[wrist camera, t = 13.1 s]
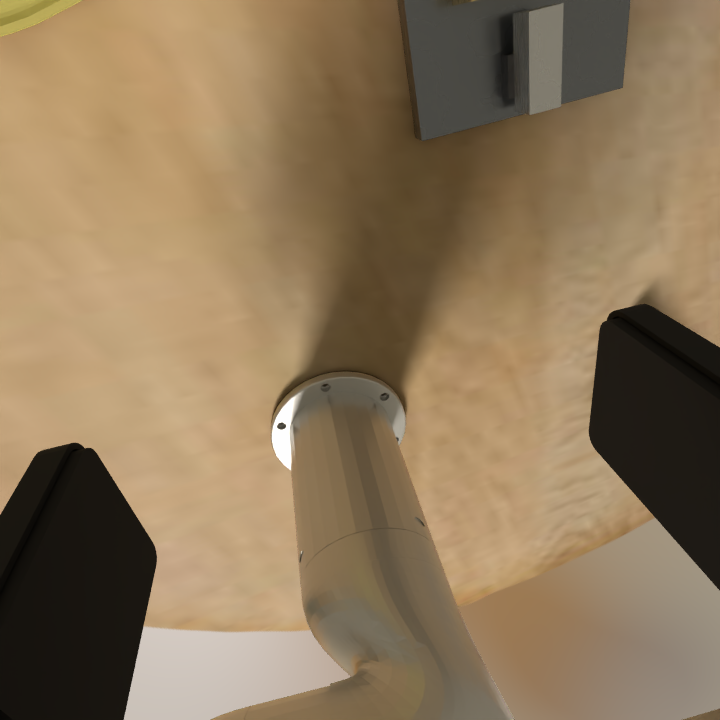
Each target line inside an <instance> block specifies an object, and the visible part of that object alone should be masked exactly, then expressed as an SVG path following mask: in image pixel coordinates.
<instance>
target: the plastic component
mask: <svg viewBox="0 0 720 720" xmlns="http://www.w3.org/2000/svg"><path fill="white" fill-rule="evenodd" d="M80 1H82V0H0V37H1V36H5V35H8V34H11V33H15V32H17V31H20V30H23V29H25V28H28V27H31V26H34V25H36V24H38V23H40V22H42V21H44V20H46V19H48V18H50V17H52V16H54V15H56V14H58V13H59V12H61V11H63V10H65V9H67V8H69V7H71V6H73V5H75V4H77V3H79V2H80Z"/></svg>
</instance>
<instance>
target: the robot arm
mask: <svg viewBox="0 0 720 720" xmlns="http://www.w3.org/2000/svg"><path fill="white" fill-rule="evenodd" d="M405 428H406V416H405V412H404V409H403V406H402V403H401V401H400V399H399V397H398V395H397V394H396V393H395V392H394V391H393V389H392V388H391V387H390V386H388V385H387V384H386V383H384V382H383V381H382V380H379V379H377V378H375V377H373V376H371V375H367V374H363V373H359V372H348V371H344V372H332V373H328V374H324V375H319V376H317V377H314V378H312V379H309V380H307V381H305V382H303V383H302V384H300V385H299V386H297V387H295V388H294V389H293V390H292V391H291V392H290V393H288V394H287V395H286V396H285V397H284V399H283V400H282V401H281V403H280V404H279V405H278V407H277V409H276V411H275V413H274V415H273V419H272V423H271V441H272V447H273V449H274V451H275V454H276V456H277V457H278V459H279V460H280V461H281V463H282V464H283V465H284V466H286V467H287V468H288V469H289V470H290V471H291V476H292V488H293V500H294V512H295V524H296V536H297V548H298V560H299V572H300V584H301V594H302V604H303V610H304V613H305V616H306V620H307V623H308V625H309V627H310V629H311V631H312V633H313V635H314V637H315V638H316V640H317V641H318V643H319V644H320V645H321V647H322V648H323V649H324V650H325V651H326V652H327V654H328V655H329V656H330V657H331V658H332V659H333V660H334V661H335V662H336V663H337V664H338V665H339V666H340V667H341V668H343V670H345V671H346V672H347V673H348V674H349V675H350V676H351V677H350V678H348V679H345V680H342V681H338V682H335V683H331V684H330V686H327V687H323V688H319V689H315V690H311V691H307V692H304V693H300V694H296V695H292V696H288V697H284V698H281V699H276V700H273V701H269V702H265V703H261V704H257V705H253V706H249V707H245V708H242V709H238V710H235V711H232V712H229V713H226V714H223V715H220V716H218V717H216V718H213V719H211V720H515V719H514V718H513V716H512V714H511V712H510V710H509V708H508V706H507V705H506V703H505V701H504V699H503V697H502V695H501V694H500V692H499V690H498V688H497V686H496V684H495V683H494V681H493V679H492V677H491V675H490V673H489V671H488V669H487V667H486V666H485V664H484V662H483V660H482V658H481V656H480V654H479V652H478V651H477V648H476V646H475V644H474V642H473V640H472V638H471V636H470V634H469V632H468V629H467V627H466V625H465V622H464V620H463V618H462V615H461V613H460V611H459V609H458V606H457V603H456V601H455V598H454V596H453V593H452V590H451V588H450V585H449V583H448V580H447V577H446V575H445V572H444V569H443V566H442V564H441V561H440V558H439V555H438V553H437V550H436V547H435V545H434V542H433V539H432V536H431V533H430V531H429V528H428V525H427V522H426V520H425V517H424V514H423V511H422V508H421V506H420V503H419V500H418V497H417V494H416V492H415V489H414V486H413V483H412V481H411V478H410V475H409V472H408V469H407V467H406V464H405V461H404V458H403V455H402V453H401V450H400V447H399V445H400V444H401V441H402V439H403V436H404V434H405ZM589 437H590V440H591V443H592V445H593V447H594V448H595V450H596V451H597V452H598V453H599V454H600V455H601V457H602V458H603V459H604V460H605V461H606V462H607V463H608V464H609V466H610V467H611V468H612V469H613V470H614V471H615V472H616V474H617V475H618V476H619V477H620V478H621V479H622V480H623V481H624V483H625V484H626V485H627V486H628V487H629V488H630V489H631V490H632V492H633V493H634V494H635V495H636V496H637V497H638V498H639V500H640V501H641V502H642V503H643V504H644V505H645V506H646V507H647V509H648V510H649V511H650V512H651V513H652V514H653V515H654V517H655V518H656V519H657V520H658V521H659V522H660V523H661V524H662V526H663V527H664V528H665V529H666V530H667V531H668V532H669V533H670V535H671V536H672V537H673V538H674V539H675V540H676V541H677V543H678V544H679V545H680V546H681V547H682V548H683V549H684V550H685V552H686V553H687V554H688V555H689V556H690V557H691V558H692V560H693V561H694V562H695V563H696V564H697V565H698V566H699V568H700V569H701V570H702V571H703V572H704V573H705V574H706V575H707V577H708V578H709V579H710V580H711V581H712V582H713V583H714V585H715V586H716V587H717V588H718V589H719V590H720V347H718V346H716V345H715V344H713V343H711V342H710V341H708V340H706V339H705V338H703V337H701V336H700V335H698V334H696V333H695V332H693V331H691V330H690V329H688V328H686V327H685V326H683V325H681V324H680V323H678V322H677V321H675V320H673V319H672V318H670V317H668V316H667V315H665V314H663V313H662V312H660V311H658V310H657V309H655V308H653V307H652V306H650V305H647V304H640V305H636V306H632V307H628V308H624V309H620V310H616V311H613V312H611V313H610V314H609V316H608V318H607V321H605V322H603V323H602V325H601V327H600V332H599V341H598V351H597V360H596V369H595V378H594V388H593V397H592V406H591V415H590V425H589ZM156 563H157V555H156V549H155V546H154V544H153V542H152V541H151V539H150V537H149V536H148V534H147V533H146V531H145V529H144V528H143V526H142V525H141V523H140V521H139V520H138V518H137V517H136V515H135V514H134V512H133V510H132V509H131V507H130V506H129V504H128V502H127V501H126V499H125V498H124V496H123V494H122V493H121V491H120V490H119V488H118V486H117V485H116V483H115V482H114V480H113V479H112V477H111V475H110V474H109V472H108V471H107V469H106V467H105V466H104V464H103V463H102V461H101V459H100V458H99V456H98V455H97V453H96V452H95V451H94V450H93V449H91V448H84V447H83V446H82V445H80V444H79V443H71V444H67V445H62V446H58V447H54V448H50V449H46V450H42V451H40V452H38V453H37V454H36V456H35V457H34V458H33V460H32V462H31V464H30V465H29V467H28V469H27V470H26V472H25V474H24V475H23V477H22V479H21V481H20V482H19V484H18V486H17V487H16V489H15V491H14V493H13V494H12V496H11V498H10V499H9V501H8V503H7V504H6V506H5V508H4V510H3V511H2V513H1V515H0V720H124V715H125V711H126V706H127V701H128V696H129V692H130V687H131V682H132V677H133V673H134V668H135V663H136V658H137V654H138V649H139V644H140V639H141V635H142V630H143V625H144V621H145V616H146V611H147V606H148V602H149V597H150V592H151V587H152V583H153V578H154V573H155V569H156ZM683 720H720V709H717V710H714V711H710V712H707V713H704V714H700V715H697V716H693V717H690V718H687V719H683Z"/></svg>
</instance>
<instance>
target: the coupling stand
mask: <svg viewBox="0 0 720 720" xmlns="http://www.w3.org/2000/svg"><path fill="white" fill-rule="evenodd" d="M398 8H399V15H400V23H401V30H402V38H403V45H404V53H405V61H406V68H407V76H408V83H409V91H410V98H411V106H412V113H413V121H414V128H415V136H416V138H417V139H419V140H421V141H424V140H428V139H432V138H436V137H439V136H443V135H447V134H451V133H454V132H458V131H462V130H466V129H469V128H473V127H477V126H481V125H484V124H488V123H492V122H496V121H500V120H503V119H507V118H511V117H515V116H518V115H522V114H527V115H532V114H536V113H540V112H544V111H547V110H551V109H555V108H559V107H561V104H563V103H567V102H571V101H575V100H578V99H582V98H586V97H590V96H593V95H597V94H601V93H605V92H608V91H612V90H616V89H620V88H623V77H624V65H625V54H626V43H627V32H628V20H629V9H630V0H398Z"/></svg>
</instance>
